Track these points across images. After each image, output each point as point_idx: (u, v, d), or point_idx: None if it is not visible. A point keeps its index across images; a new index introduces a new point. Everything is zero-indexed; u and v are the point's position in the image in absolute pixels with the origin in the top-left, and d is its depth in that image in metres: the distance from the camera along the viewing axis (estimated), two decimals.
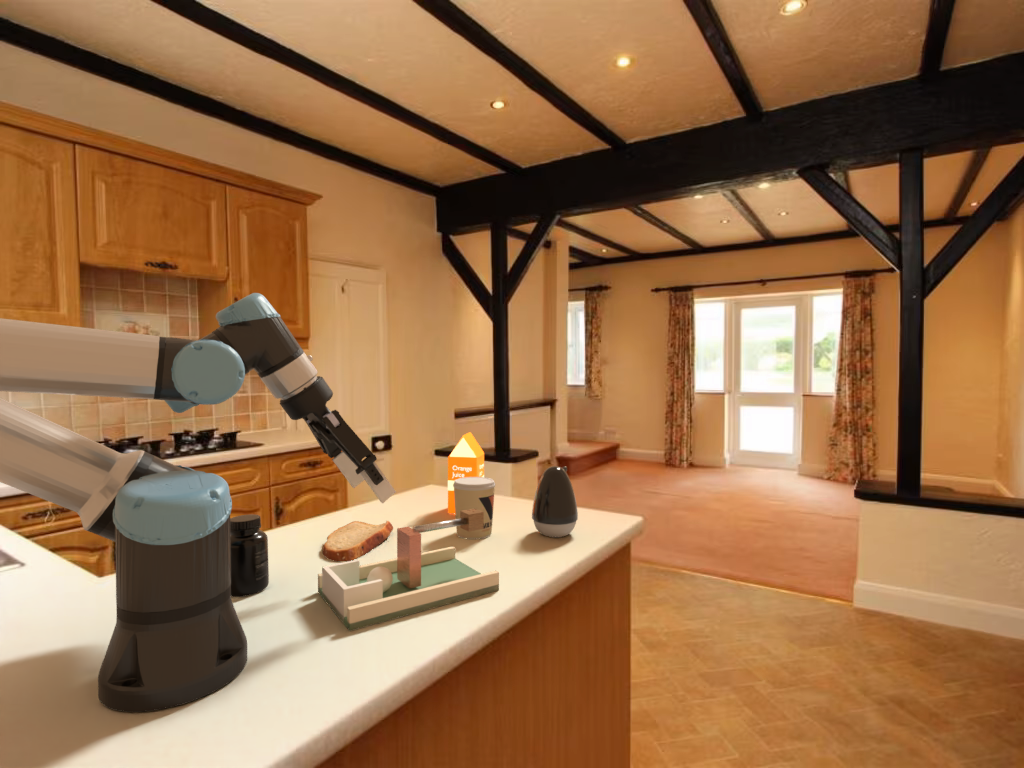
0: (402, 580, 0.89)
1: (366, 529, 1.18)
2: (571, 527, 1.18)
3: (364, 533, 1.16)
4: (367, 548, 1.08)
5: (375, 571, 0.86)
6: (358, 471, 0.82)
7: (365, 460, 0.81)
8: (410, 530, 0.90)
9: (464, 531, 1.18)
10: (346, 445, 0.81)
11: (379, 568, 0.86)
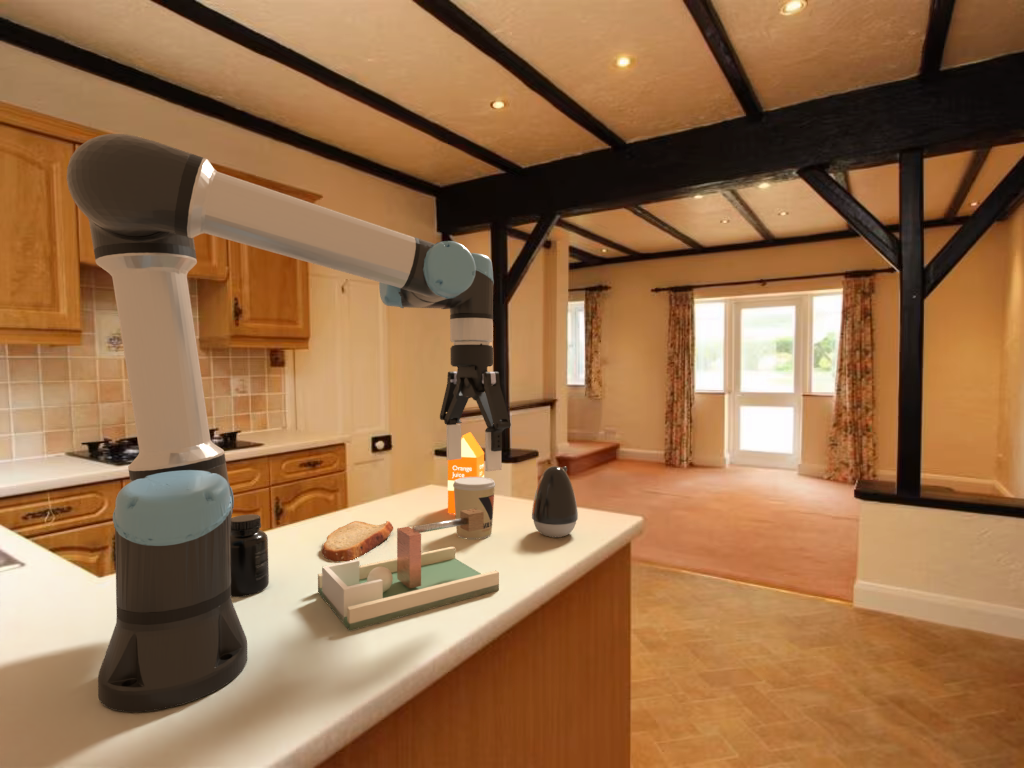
0: (402, 580, 0.89)
1: (366, 529, 1.18)
2: (571, 527, 1.18)
3: (364, 533, 1.16)
4: (366, 548, 1.08)
5: (375, 571, 0.86)
6: (489, 429, 0.88)
7: (502, 422, 0.88)
8: (410, 530, 0.90)
9: (464, 531, 1.18)
10: (493, 402, 0.88)
11: (379, 568, 0.86)
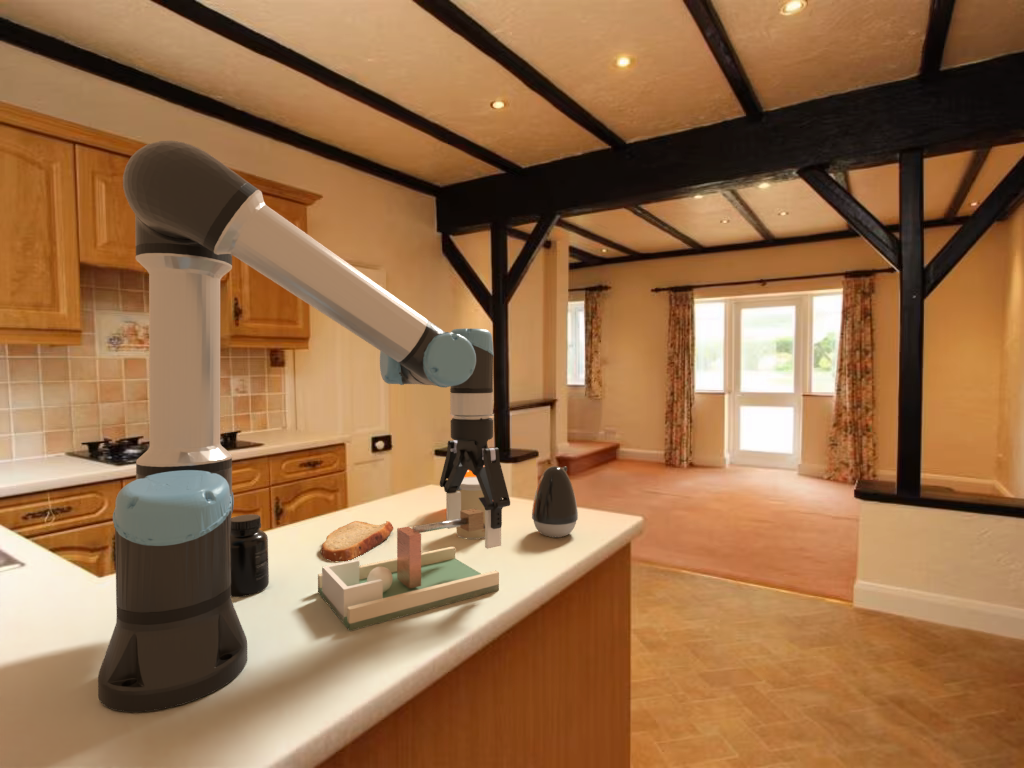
0: (402, 580, 0.89)
1: (366, 529, 1.18)
2: (571, 527, 1.18)
3: (363, 533, 1.16)
4: (364, 548, 1.08)
5: (375, 571, 0.86)
6: (489, 507, 0.88)
7: (501, 501, 0.88)
8: (410, 530, 0.90)
9: (464, 530, 1.18)
10: (493, 480, 0.89)
11: (379, 568, 0.86)
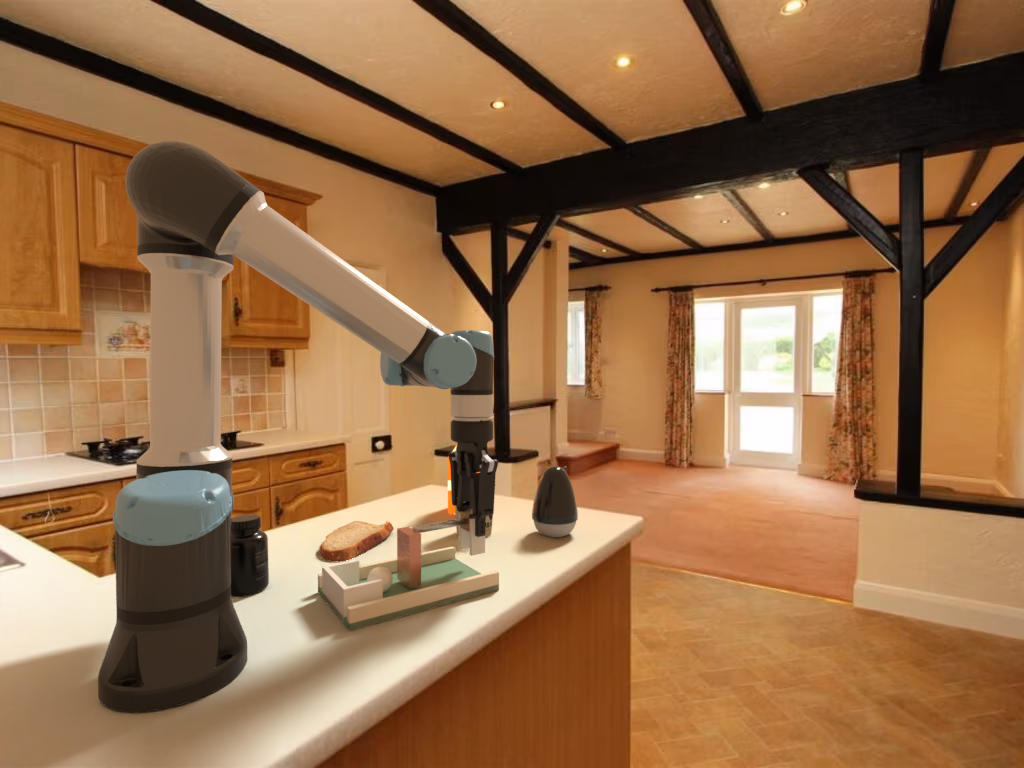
0: (402, 580, 0.89)
1: (366, 529, 1.18)
2: (571, 527, 1.18)
3: (363, 533, 1.16)
4: (362, 548, 1.08)
5: (375, 571, 0.86)
6: (472, 518, 0.93)
7: (485, 510, 0.92)
8: (410, 530, 0.90)
9: None
10: (483, 492, 0.91)
11: (379, 568, 0.86)
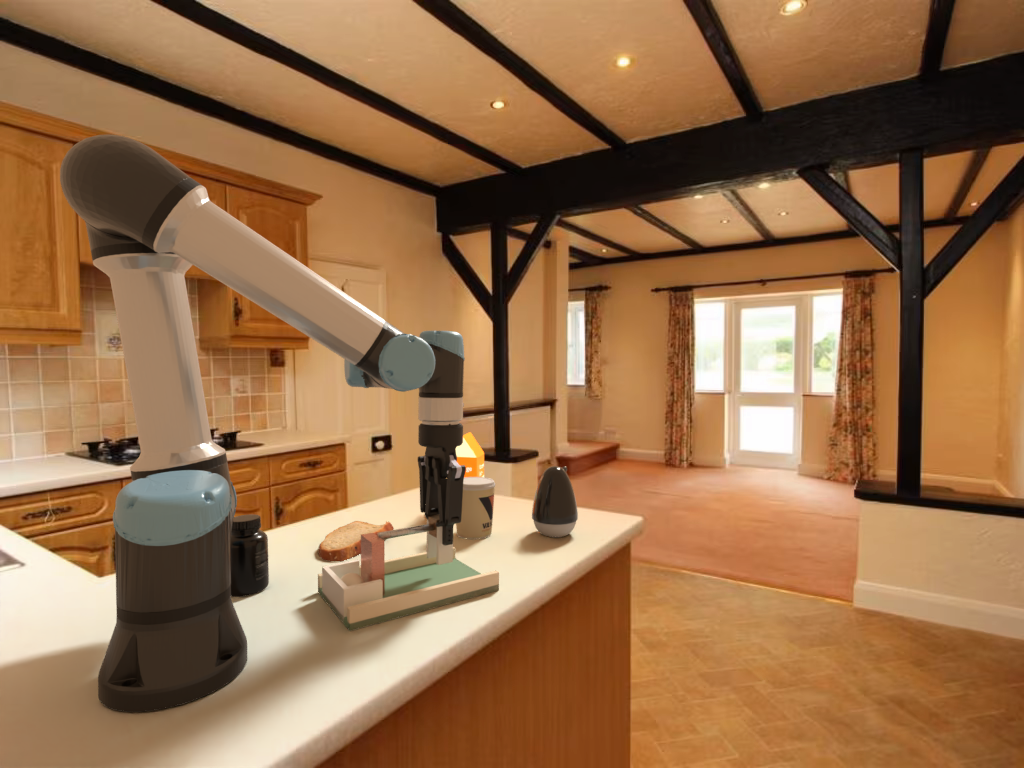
0: None
1: (365, 529, 1.18)
2: (571, 527, 1.18)
3: (362, 533, 1.16)
4: None
5: None
6: (439, 525, 0.89)
7: (452, 517, 0.88)
8: (374, 536, 0.86)
9: (464, 531, 1.18)
10: (450, 499, 0.88)
11: None
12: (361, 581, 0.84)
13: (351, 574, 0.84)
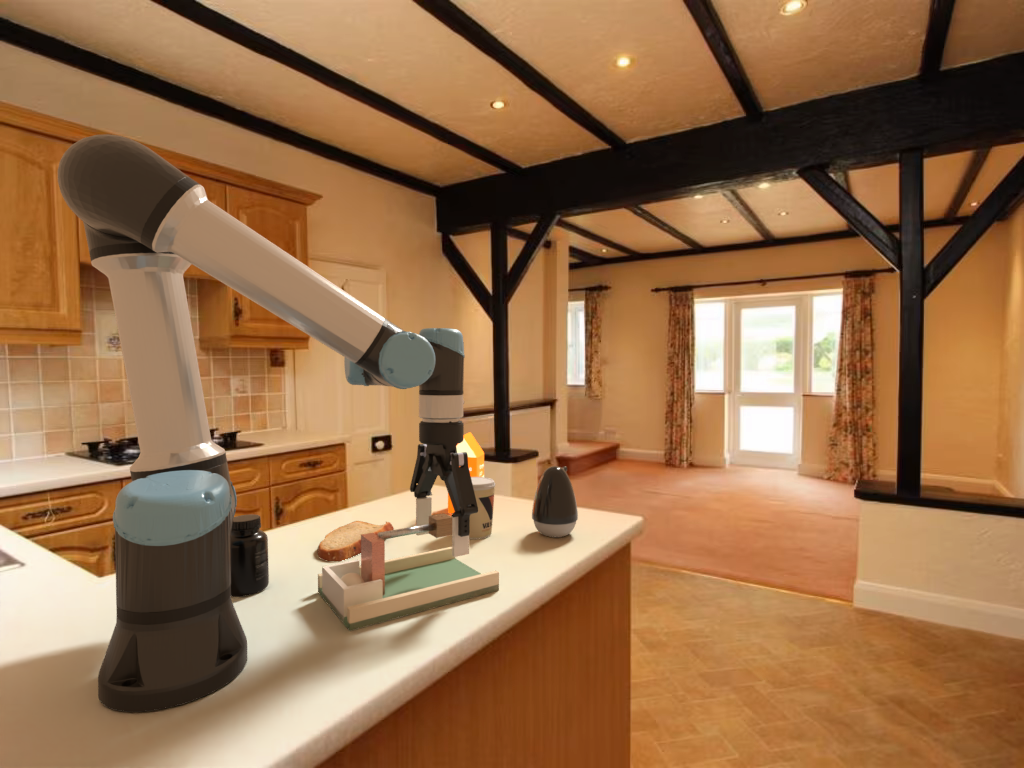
0: None
1: (365, 529, 1.18)
2: (571, 527, 1.18)
3: (362, 533, 1.16)
4: (359, 549, 1.08)
5: None
6: (456, 514, 0.85)
7: (469, 507, 0.84)
8: (374, 536, 0.86)
9: None
10: (460, 486, 0.85)
11: None
12: (361, 581, 0.84)
13: (351, 574, 0.84)
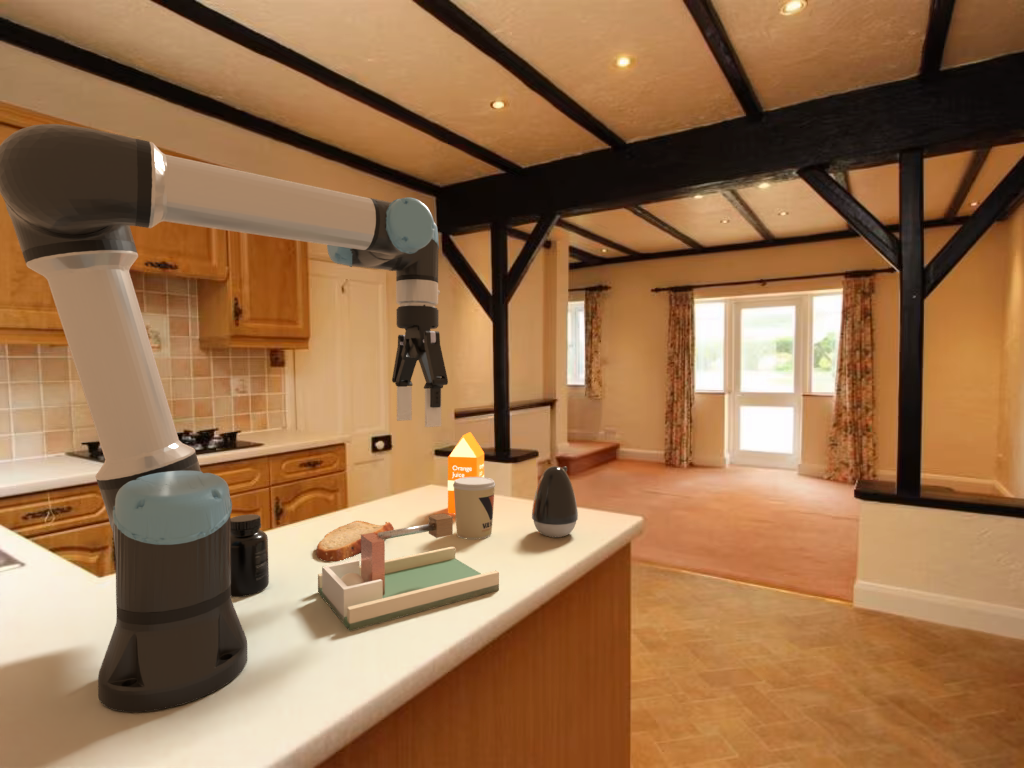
0: None
1: (365, 529, 1.18)
2: (571, 527, 1.18)
3: (361, 533, 1.16)
4: (357, 549, 1.08)
5: None
6: (427, 385, 0.91)
7: (439, 378, 0.91)
8: (374, 536, 0.86)
9: (464, 531, 1.18)
10: (431, 359, 0.91)
11: None
12: (361, 581, 0.84)
13: (351, 574, 0.84)
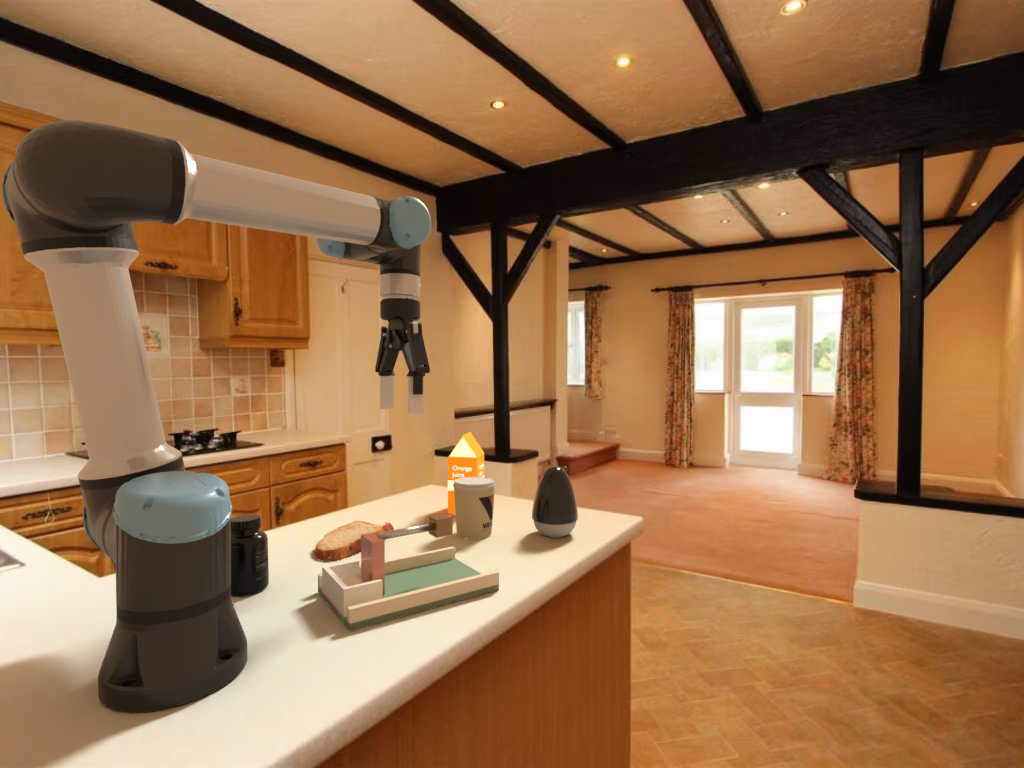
0: None
1: (365, 529, 1.18)
2: (571, 527, 1.18)
3: (360, 533, 1.15)
4: (356, 549, 1.08)
5: None
6: (410, 373, 0.96)
7: (421, 366, 0.96)
8: (374, 536, 0.86)
9: (464, 531, 1.18)
10: (414, 348, 0.96)
11: None
12: (361, 581, 0.84)
13: (352, 574, 0.84)
